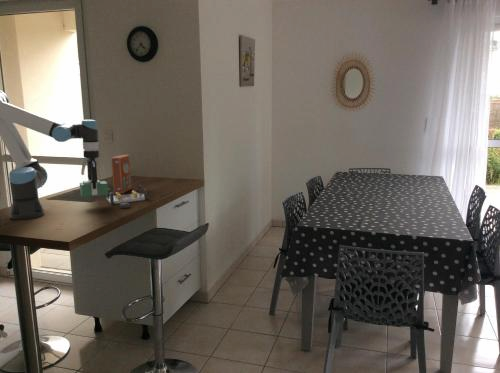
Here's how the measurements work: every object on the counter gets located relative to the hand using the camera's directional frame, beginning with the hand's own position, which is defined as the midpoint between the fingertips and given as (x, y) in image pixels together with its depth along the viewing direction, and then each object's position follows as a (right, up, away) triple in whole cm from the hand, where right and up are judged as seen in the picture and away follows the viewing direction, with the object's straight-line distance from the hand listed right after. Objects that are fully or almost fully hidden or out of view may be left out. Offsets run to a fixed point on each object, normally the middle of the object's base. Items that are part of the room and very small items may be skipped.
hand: (93, 193), depth 242 cm
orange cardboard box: (+5, +1, +38) cm, 38 cm away
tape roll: (+17, -8, -1) cm, 19 cm away
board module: (0, -1, 0) cm, 1 cm away
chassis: (+13, -4, +16) cm, 21 cm away
